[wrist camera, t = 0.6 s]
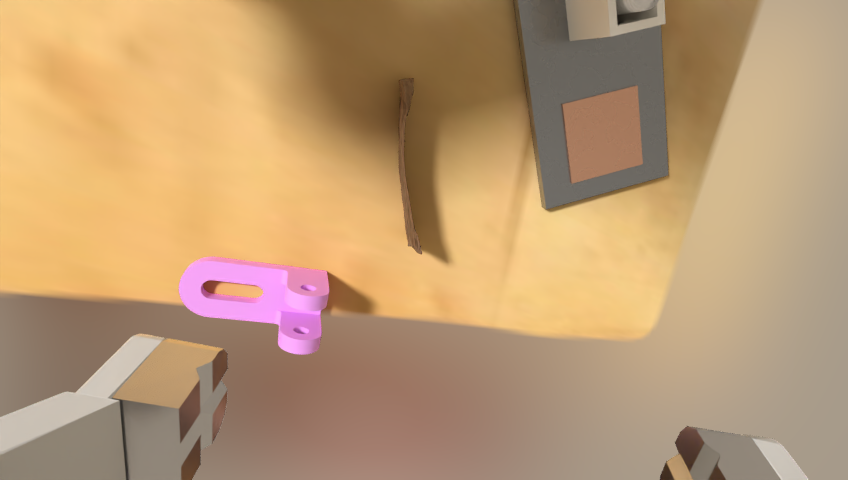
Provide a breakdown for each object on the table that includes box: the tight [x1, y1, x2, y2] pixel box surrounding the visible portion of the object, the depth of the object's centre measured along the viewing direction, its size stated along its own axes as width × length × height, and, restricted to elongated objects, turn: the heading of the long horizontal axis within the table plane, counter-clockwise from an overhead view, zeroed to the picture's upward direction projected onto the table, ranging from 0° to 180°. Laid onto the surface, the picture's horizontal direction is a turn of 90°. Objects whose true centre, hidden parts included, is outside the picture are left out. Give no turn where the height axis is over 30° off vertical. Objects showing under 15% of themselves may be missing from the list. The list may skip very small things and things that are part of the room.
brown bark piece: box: [399, 78, 422, 254], centre depth 48 cm, size 15×2×5 cm, turn 3°
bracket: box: [179, 257, 329, 354], centre depth 48 cm, size 13×6×7 cm, turn 78°
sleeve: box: [565, 0, 666, 41], centre depth 45 cm, size 5×5×7 cm
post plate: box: [513, 0, 668, 209], centre depth 47 cm, size 24×14×10 cm, turn 12°
